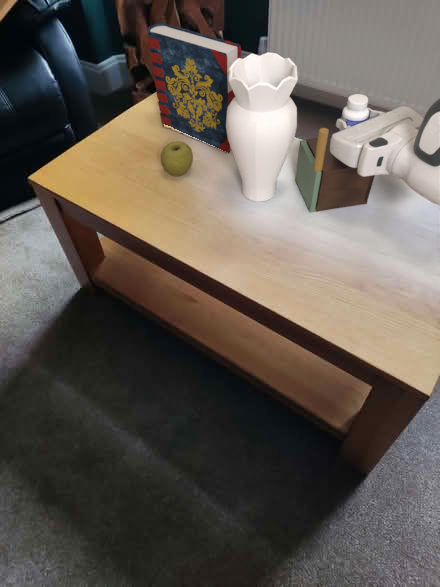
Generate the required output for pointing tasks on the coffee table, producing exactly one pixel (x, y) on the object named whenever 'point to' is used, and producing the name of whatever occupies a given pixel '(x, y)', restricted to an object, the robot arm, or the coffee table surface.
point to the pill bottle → (356, 110)
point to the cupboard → (339, 182)
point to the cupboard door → (311, 169)
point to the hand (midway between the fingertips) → (351, 116)
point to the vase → (261, 120)
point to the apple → (176, 158)
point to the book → (193, 81)
